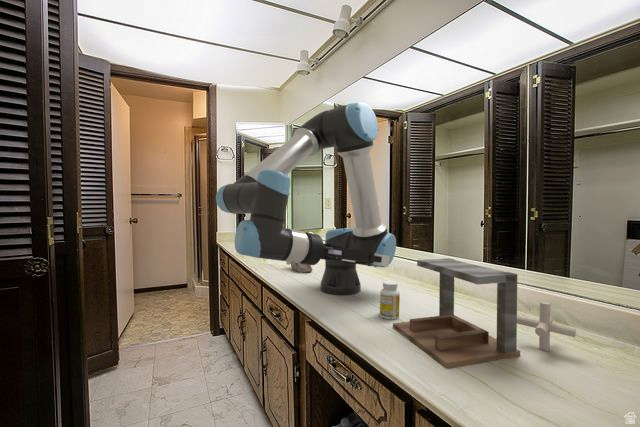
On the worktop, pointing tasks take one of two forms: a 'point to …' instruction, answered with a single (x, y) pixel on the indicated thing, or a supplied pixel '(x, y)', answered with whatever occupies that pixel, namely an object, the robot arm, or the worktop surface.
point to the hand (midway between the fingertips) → (370, 259)
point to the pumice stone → (301, 267)
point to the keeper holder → (457, 334)
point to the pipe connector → (545, 326)
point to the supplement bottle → (389, 300)
